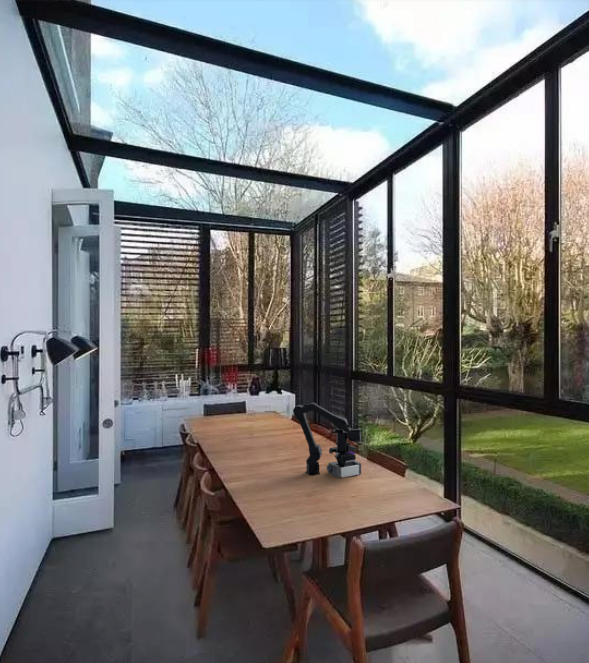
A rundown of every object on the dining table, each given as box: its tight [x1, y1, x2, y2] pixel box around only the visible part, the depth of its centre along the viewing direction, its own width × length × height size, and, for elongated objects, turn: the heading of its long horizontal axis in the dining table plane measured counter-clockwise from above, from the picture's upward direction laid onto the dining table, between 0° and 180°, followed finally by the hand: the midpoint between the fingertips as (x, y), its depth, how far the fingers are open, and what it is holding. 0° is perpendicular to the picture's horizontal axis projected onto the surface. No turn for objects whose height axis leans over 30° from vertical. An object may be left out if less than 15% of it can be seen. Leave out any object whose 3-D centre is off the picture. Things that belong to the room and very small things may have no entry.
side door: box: [340, 465, 360, 478], centre depth 235 cm, size 11×1×5 cm, turn 117°
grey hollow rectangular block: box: [326, 460, 362, 479], centre depth 239 cm, size 17×9×6 cm, turn 117°
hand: (342, 469), depth 236 cm, fingers closed
